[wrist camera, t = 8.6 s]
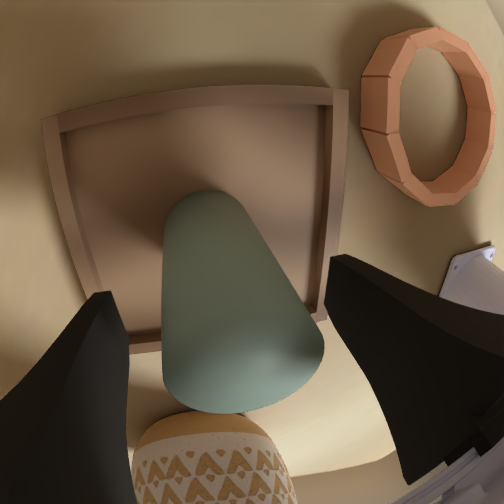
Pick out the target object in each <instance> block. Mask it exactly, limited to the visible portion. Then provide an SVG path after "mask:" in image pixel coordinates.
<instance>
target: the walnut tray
mask: <svg viewBox="0 0 504 504" xmlns="http://www.w3.org/2000/svg"><path fill="white" fill-rule="evenodd" d="M348 115H349V90H346V89H337V88H327V87H315V86H300V85H265V84H258V85H223V86H207V87H195V88H185V89H176V90H168V91H161V92H154V93H147V94H141V95H136V96H130V97H125V98H120V99H115V100H110V101H106V102H101V103H97V104H93V105H89V106H85V107H81V108H78V109H74V110H70V111H67V112H64V113H60V114H57V115H54V116H51V117H48V118H45V119H42V120H41V126H42V134H43V141H44V147H45V154H46V159H47V165H48V170H49V175H50V180H51V185H52V189H53V193H54V198H55V202H56V206H57V210H58V213H59V217H60V221H61V224H62V228H63V231H64V235H65V238H66V241H67V244H68V247H69V250H70V254H71V257H72V259H73V262H74V265H75V268H76V271H77V274H78V276H79V279H80V282H81V284H82V287H83V289H84V292H85V294H86V297H87V299H89V297H90V296H91V295H92V294H93V293H95V292H102V291H110V290H111V292H112V295H113V297H114V300H115V303H116V306H117V308H118V311H119V314H120V316H121V319H122V321H123V324H124V326H125V329H126V331H127V334H128V336H129V354H138V353H147V352H156V351H162V344H161V288H162V258H163V239H164V226H165V221H166V218H167V216H168V214H169V212H170V210H171V209H172V207H173V206H174V205H175V204H176V203H177V202H178V201H179V200H181V199H182V198H183V197H185V196H187V195H189V194H191V193H194V192H197V191H201V190H217V191H221V192H224V193H227V194H229V195H231V196H233V197H234V198H235V199H237V200H238V201H239V202H240V203H241V204H242V206H243V207H244V208H245V210H246V212H247V213H248V215H249V216H250V218H251V220H252V221H253V223H254V224H255V226H256V228H257V229H258V231H259V232H260V234H261V236H262V237H263V239H264V240H265V242H266V244H267V245H268V247H269V248H270V250H271V252H272V253H273V255H274V256H275V258H276V260H277V261H278V263H279V264H280V266H281V268H282V269H283V271H284V273H285V274H286V276H287V277H288V279H289V281H290V282H291V284H292V286H293V287H294V289H295V290H296V292H297V294H298V295H299V297H300V299H301V300H302V302H303V304H304V305H305V307H306V308H307V310H308V312H309V313H310V315H311V317H312V318H313V320H314V322H319V321H323V320H327V315H328V312H327V310H326V308H325V306H324V298H325V291H326V284H327V277H328V270H329V262H330V257H331V256H337V251H338V244H339V235H340V227H341V218H342V208H343V198H344V186H345V174H346V159H347V141H348Z"/></svg>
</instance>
